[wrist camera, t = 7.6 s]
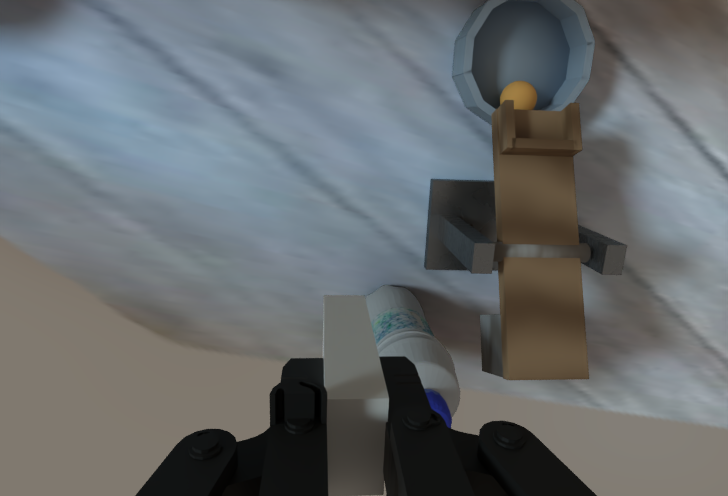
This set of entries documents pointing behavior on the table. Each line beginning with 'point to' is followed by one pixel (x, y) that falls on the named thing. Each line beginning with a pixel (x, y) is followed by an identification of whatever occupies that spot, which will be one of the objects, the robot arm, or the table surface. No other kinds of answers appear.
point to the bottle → (414, 345)
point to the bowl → (523, 53)
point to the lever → (536, 248)
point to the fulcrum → (488, 231)
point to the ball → (520, 95)
